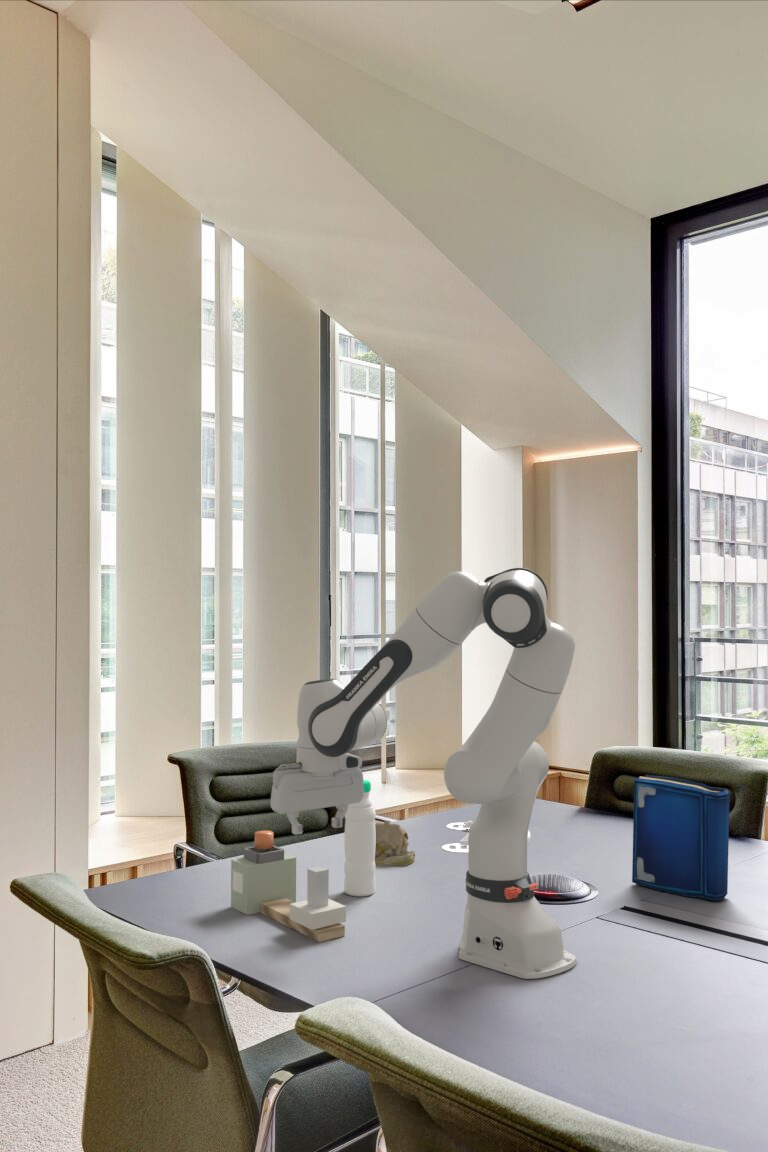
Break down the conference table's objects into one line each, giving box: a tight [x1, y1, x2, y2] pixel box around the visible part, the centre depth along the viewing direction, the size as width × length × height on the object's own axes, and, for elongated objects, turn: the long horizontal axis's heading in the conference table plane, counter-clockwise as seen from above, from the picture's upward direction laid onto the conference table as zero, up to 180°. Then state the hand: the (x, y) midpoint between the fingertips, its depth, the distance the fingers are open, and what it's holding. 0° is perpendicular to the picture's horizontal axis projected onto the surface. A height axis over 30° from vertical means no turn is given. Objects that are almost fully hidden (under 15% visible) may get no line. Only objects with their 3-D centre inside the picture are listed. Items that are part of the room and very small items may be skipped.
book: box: [631, 774, 731, 902], centre depth 215 cm, size 22×7×25 cm, turn 47°
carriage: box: [290, 865, 347, 930], centre depth 187 cm, size 8×8×10 cm
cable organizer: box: [441, 820, 531, 854], centre depth 265 cm, size 35×24×3 cm
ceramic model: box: [375, 820, 416, 867], centre depth 241 cm, size 14×11×10 cm
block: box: [260, 898, 346, 943], centre depth 191 cm, size 22×6×2 cm, turn 38°
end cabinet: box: [230, 844, 297, 916], centre depth 203 cm, size 7×12×12 cm, turn 128°
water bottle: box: [343, 779, 377, 898], centre depth 213 cm, size 7×7×25 cm
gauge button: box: [254, 830, 274, 849], centre depth 204 cm, size 4×4×3 cm
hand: (317, 830), depth 187 cm, fingers open, 8 cm apart
